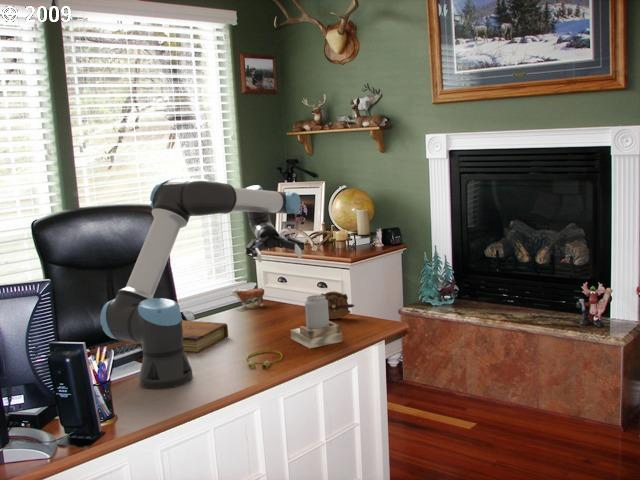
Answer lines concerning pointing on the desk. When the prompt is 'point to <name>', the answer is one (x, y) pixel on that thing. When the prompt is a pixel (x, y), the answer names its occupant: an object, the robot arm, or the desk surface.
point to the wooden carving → (337, 304)
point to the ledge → (317, 335)
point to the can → (316, 312)
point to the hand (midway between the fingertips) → (280, 256)
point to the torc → (266, 363)
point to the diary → (202, 335)
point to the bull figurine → (249, 295)
